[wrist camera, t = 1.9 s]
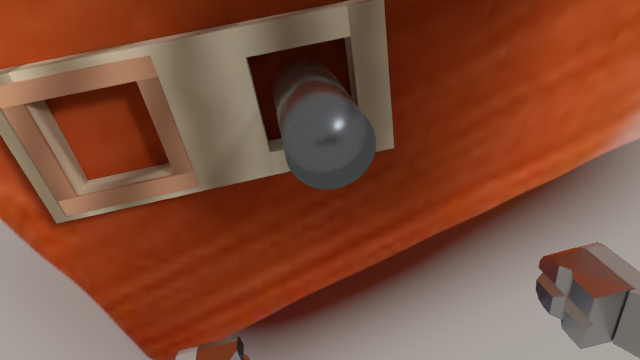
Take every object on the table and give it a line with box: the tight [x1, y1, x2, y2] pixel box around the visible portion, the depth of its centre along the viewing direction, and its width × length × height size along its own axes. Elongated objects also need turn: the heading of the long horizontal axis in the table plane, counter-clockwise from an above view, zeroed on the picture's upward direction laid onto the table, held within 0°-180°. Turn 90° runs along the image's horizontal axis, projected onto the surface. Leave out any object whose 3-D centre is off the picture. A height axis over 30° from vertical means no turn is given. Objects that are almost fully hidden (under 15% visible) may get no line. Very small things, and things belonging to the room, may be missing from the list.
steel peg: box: [272, 56, 376, 190], centre depth 23 cm, size 4×4×10 cm
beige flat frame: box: [0, 0, 394, 223], centre depth 26 cm, size 24×10×2 cm, turn 100°
